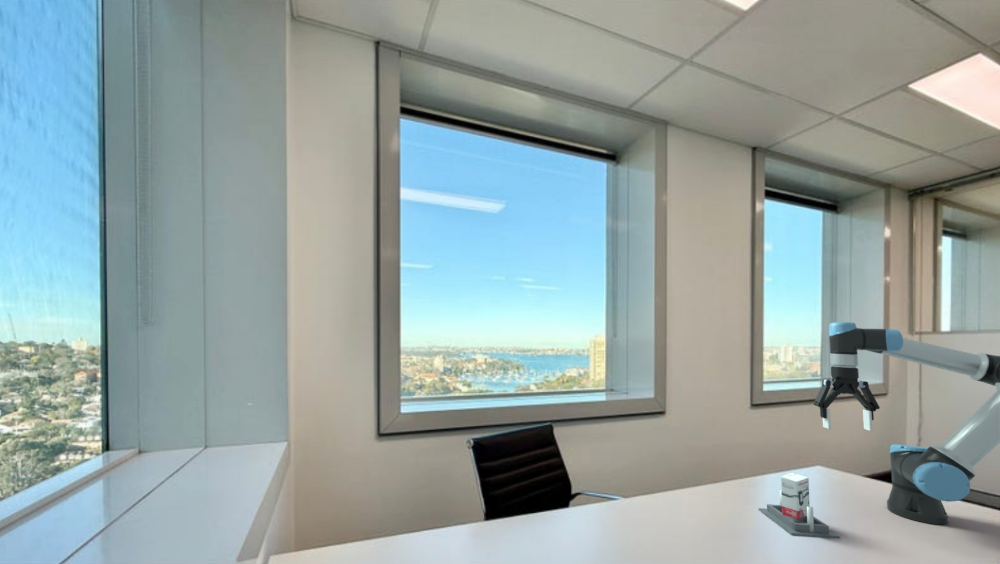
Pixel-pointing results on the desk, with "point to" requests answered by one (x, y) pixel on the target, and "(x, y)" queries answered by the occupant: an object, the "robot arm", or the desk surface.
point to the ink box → (795, 495)
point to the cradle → (798, 522)
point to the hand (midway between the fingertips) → (847, 429)
